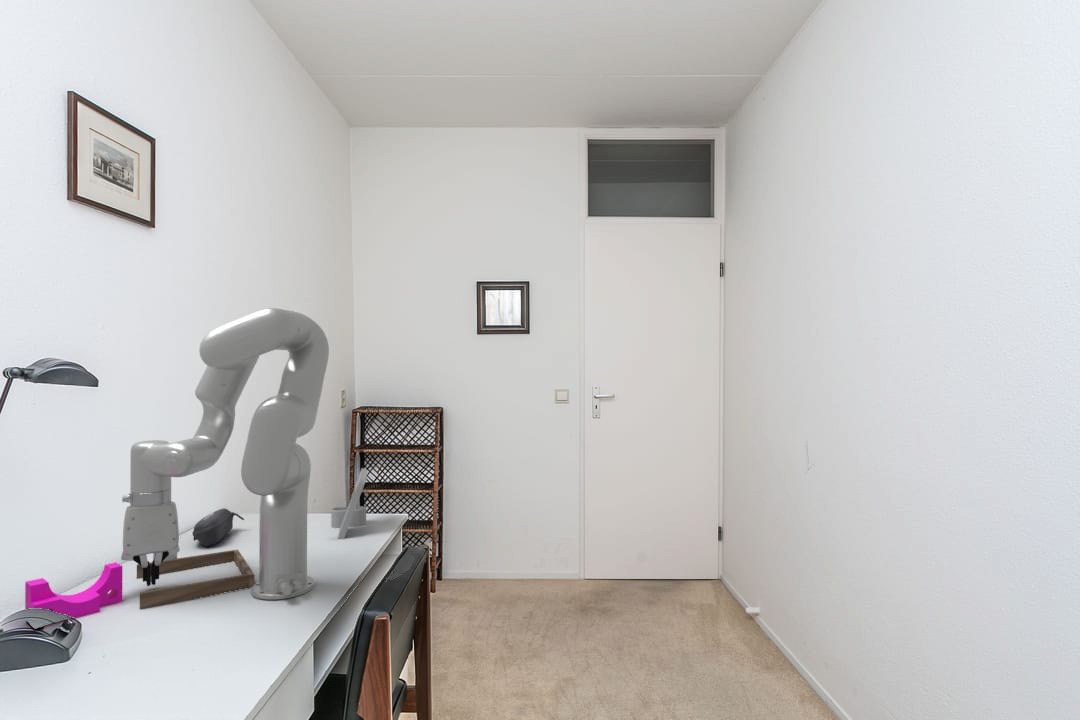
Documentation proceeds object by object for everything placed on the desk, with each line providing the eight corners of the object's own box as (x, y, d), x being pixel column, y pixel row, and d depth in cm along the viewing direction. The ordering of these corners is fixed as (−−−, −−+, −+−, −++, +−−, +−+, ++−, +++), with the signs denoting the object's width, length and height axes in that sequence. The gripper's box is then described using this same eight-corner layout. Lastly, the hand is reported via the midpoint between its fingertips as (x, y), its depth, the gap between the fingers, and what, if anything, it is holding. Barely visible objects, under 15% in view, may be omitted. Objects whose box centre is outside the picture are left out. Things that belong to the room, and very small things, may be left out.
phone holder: (331, 528, 186) (331, 468, 186) (366, 526, 189) (367, 466, 189) (327, 545, 170) (327, 478, 170) (366, 542, 172) (366, 476, 172)
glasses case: (206, 533, 181) (206, 506, 181) (245, 532, 183) (246, 505, 183) (184, 552, 163) (185, 522, 163) (228, 550, 165) (229, 520, 166)
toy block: (34, 629, 116) (34, 589, 116) (25, 621, 120) (25, 581, 120) (126, 605, 128) (126, 568, 128) (115, 598, 132) (115, 562, 132)
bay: (254, 588, 137) (254, 574, 137) (139, 609, 125) (139, 593, 126) (237, 561, 155) (237, 549, 156) (136, 577, 144) (136, 564, 144)
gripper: (109, 506, 129) (108, 596, 129) (192, 497, 137) (192, 581, 137) (109, 499, 135) (109, 585, 135) (188, 491, 143) (188, 572, 143)
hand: (150, 583), depth 136 cm, fingers closed
